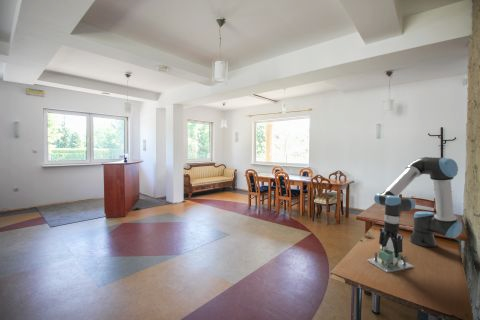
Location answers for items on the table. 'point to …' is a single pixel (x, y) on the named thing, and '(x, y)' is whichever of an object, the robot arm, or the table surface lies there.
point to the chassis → (390, 264)
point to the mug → (389, 244)
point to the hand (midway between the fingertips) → (389, 259)
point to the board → (388, 255)
